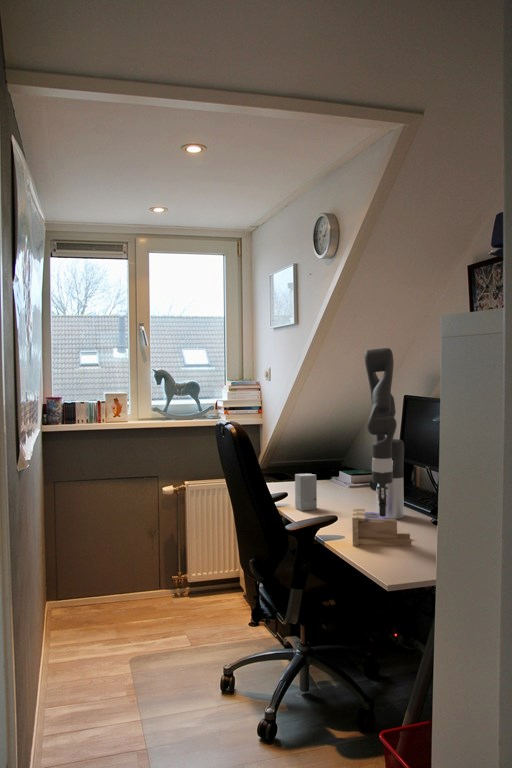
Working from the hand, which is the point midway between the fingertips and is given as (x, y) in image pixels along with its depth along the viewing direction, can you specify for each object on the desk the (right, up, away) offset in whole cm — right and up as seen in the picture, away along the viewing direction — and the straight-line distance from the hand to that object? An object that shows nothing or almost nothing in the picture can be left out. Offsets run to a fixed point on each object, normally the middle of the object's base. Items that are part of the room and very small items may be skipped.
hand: (382, 516), depth 234 cm
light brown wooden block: (-2, -10, +1) cm, 10 cm away
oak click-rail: (0, -10, +1) cm, 9 cm away
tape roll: (0, -9, +20) cm, 22 cm away
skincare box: (-24, -8, +52) cm, 58 cm away
